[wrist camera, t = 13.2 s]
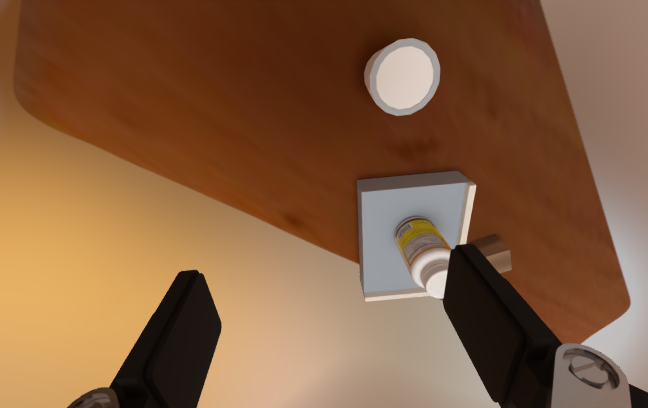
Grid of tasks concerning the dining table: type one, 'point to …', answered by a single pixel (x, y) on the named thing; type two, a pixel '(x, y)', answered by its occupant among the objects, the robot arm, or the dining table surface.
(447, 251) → the supplement bottle
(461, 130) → the dining table surface
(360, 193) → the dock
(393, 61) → the white cup
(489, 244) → the light brown cube
